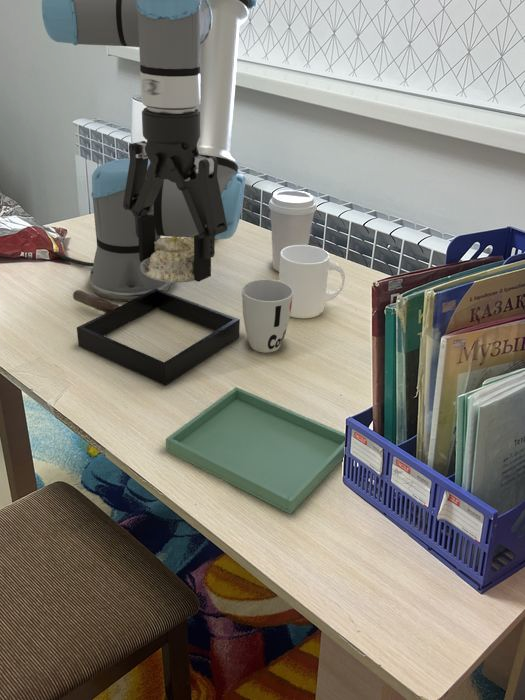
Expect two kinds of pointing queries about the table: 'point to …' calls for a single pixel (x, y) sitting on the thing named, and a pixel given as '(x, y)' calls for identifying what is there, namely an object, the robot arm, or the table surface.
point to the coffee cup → (290, 220)
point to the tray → (260, 448)
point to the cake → (171, 260)
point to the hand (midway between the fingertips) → (174, 268)
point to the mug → (308, 278)
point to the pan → (118, 316)
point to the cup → (266, 313)
